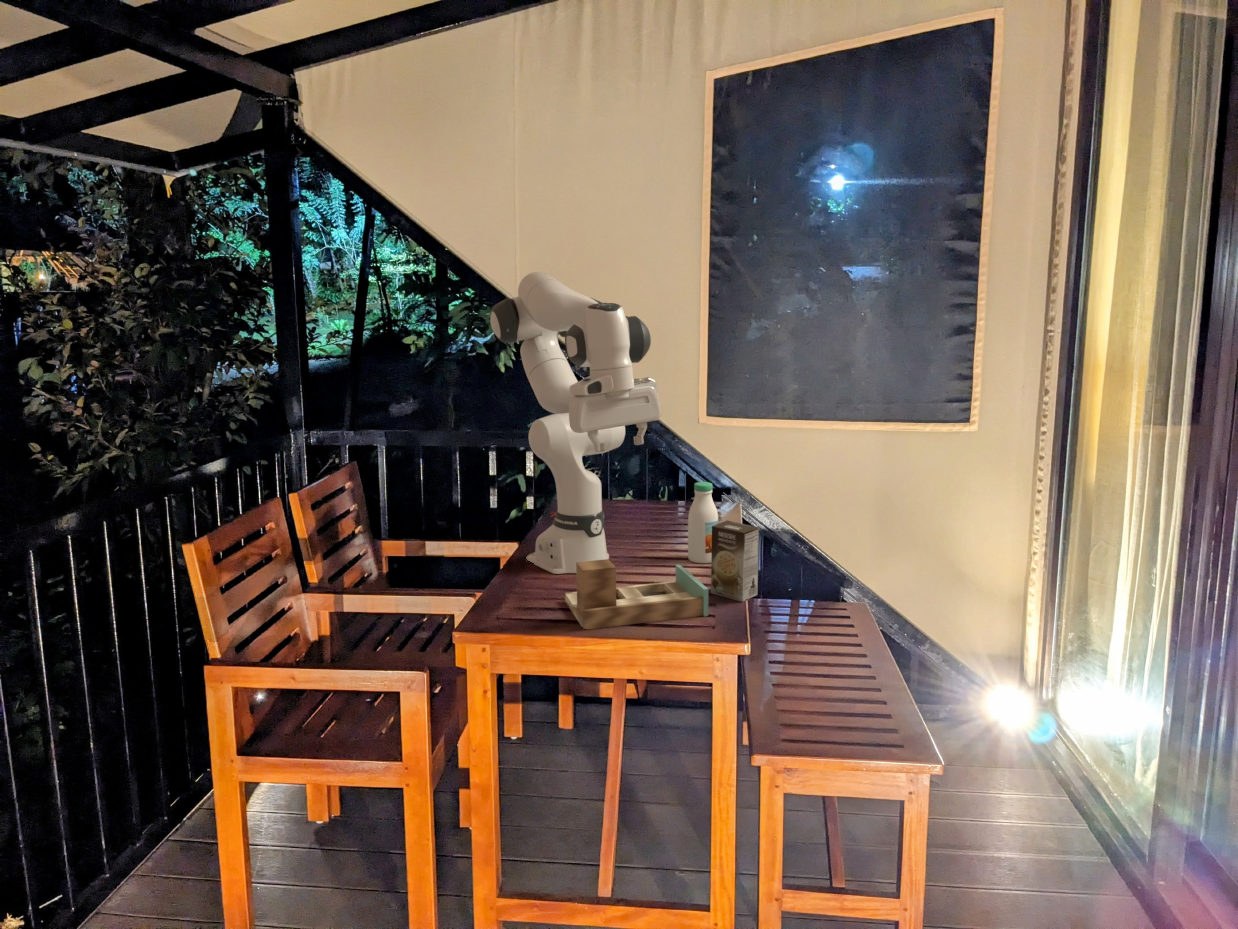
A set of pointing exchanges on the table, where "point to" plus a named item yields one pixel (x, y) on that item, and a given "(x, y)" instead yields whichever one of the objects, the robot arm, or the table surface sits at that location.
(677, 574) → the end stop
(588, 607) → the walnut block
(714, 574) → the coffee box
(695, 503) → the milk bottle
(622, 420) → the robot arm
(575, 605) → the board
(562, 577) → the table surface
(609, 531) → the table surface
